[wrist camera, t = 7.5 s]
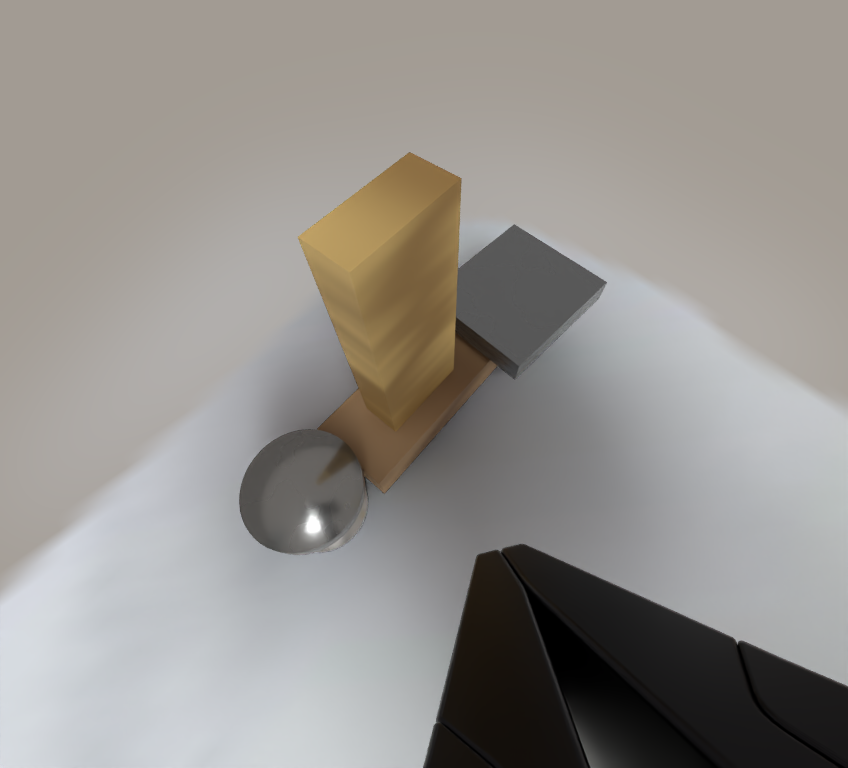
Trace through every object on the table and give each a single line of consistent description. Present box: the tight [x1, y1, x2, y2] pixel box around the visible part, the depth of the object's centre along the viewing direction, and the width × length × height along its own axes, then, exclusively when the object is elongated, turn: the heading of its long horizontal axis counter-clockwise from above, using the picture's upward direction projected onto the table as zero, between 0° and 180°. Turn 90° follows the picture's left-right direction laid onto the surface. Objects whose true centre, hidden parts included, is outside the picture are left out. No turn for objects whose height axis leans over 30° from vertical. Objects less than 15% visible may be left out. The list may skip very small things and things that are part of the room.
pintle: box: [239, 429, 368, 555], centre depth 15 cm, size 4×4×3 cm
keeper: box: [455, 225, 607, 379], centre depth 18 cm, size 5×5×4 cm
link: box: [298, 152, 497, 494], centre depth 13 cm, size 9×3×10 cm, turn 139°
